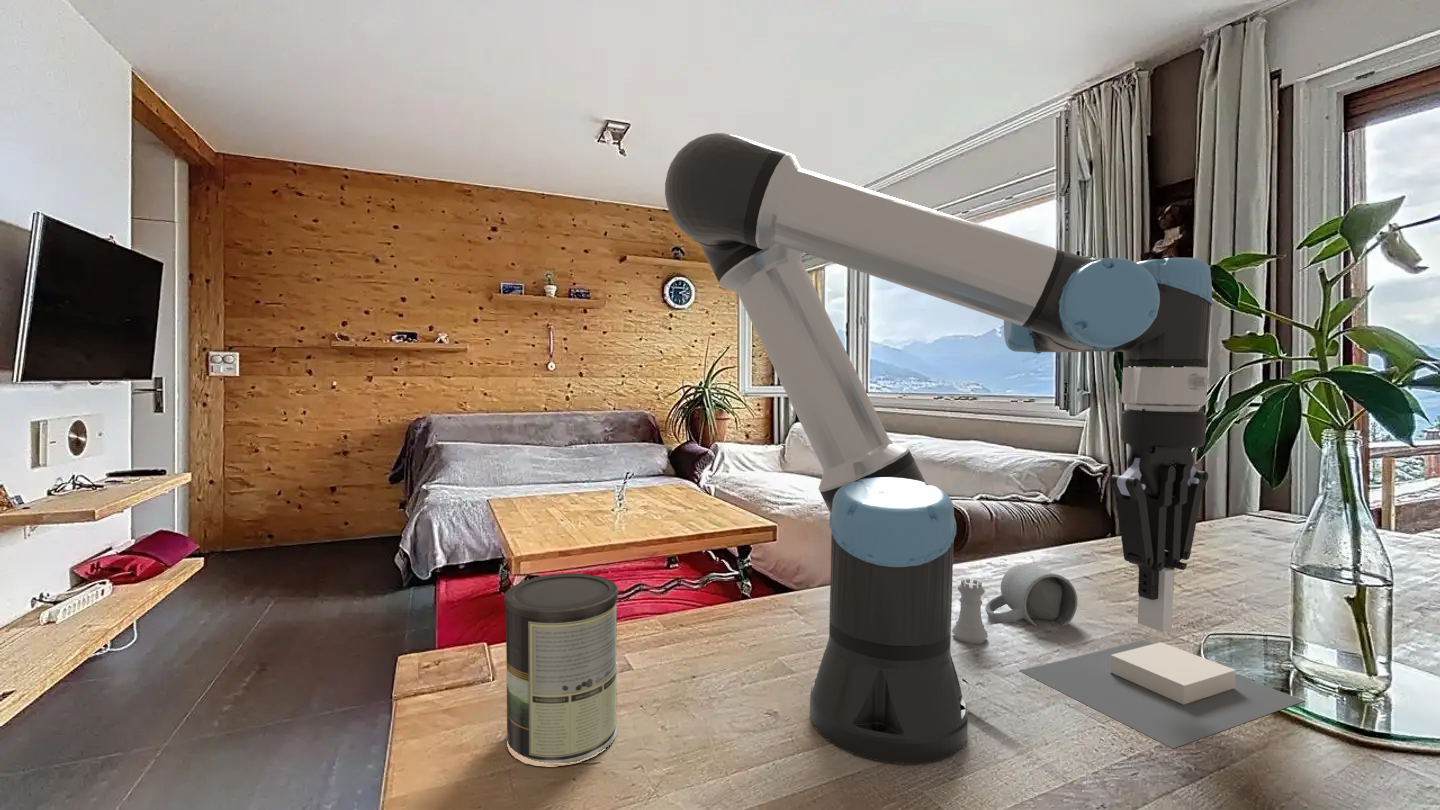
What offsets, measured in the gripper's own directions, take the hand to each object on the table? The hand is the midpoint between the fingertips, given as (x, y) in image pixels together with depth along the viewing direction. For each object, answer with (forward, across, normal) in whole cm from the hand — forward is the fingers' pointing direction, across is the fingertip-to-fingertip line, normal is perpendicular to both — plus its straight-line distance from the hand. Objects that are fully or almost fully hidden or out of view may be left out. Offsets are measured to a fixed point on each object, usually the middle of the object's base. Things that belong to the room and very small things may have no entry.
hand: (1154, 626), depth 72 cm
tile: (+6, -1, 0) cm, 6 cm away
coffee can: (+7, -60, +17) cm, 63 cm away
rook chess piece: (+8, -8, +18) cm, 21 cm away
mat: (+8, +1, 0) cm, 8 cm away
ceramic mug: (+8, +5, +21) cm, 23 cm away
